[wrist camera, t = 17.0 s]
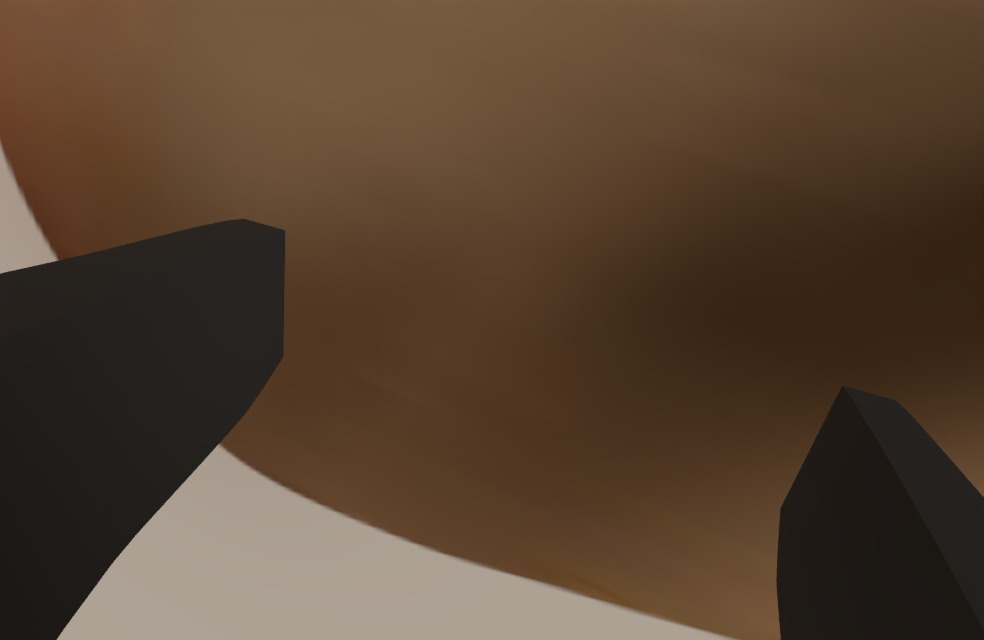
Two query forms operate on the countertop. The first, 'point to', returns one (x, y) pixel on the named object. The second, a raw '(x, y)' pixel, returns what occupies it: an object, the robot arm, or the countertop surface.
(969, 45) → the countertop surface
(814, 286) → the countertop surface
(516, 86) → the countertop surface
